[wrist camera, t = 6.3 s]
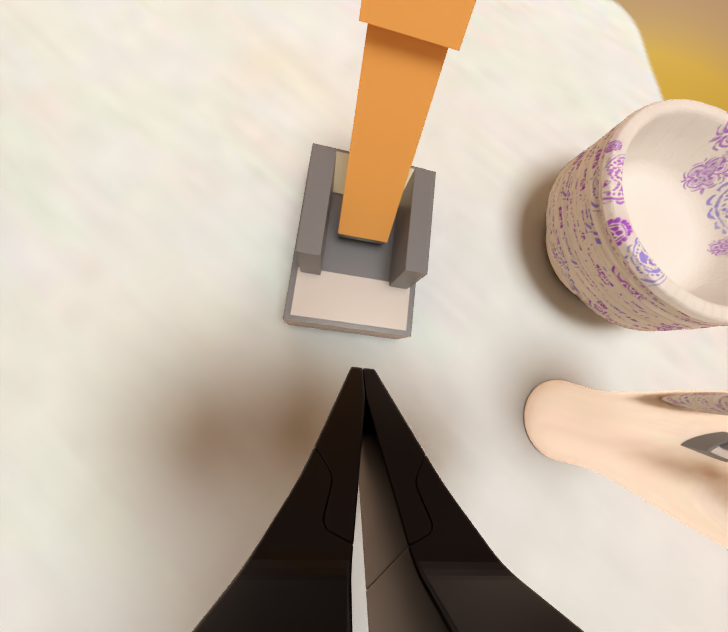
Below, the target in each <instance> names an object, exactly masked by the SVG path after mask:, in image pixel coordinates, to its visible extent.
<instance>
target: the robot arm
mask: <svg viewBox="0 0 728 632" xmlns="http://www.w3.org/2000/svg"><path fill="white" fill-rule="evenodd" d="M358 483H359V490H360V505H361V520H362V535H363V550H364V565H365V580H366V589H367V591H366V597H367V612H368V627H369V632H584V631H583V630H581V629H580V628H579V627H578V626H576V625H575V624H574V623H573V622H571V621H570V620H569V619H568V618H566V617H565V616H564V615H563V614H562V613H560V612H559V611H558V610H557V609H555V608H554V607H553V606H552V605H550V604H549V603H548V602H547V601H545V600H544V599H543V598H542V597H540V596H539V595H538V594H537V593H536V592H534V591H533V590H532V589H531V588H529V587H528V586H527V585H526V584H524V583H523V582H522V581H521V580H519V579H518V578H517V577H516V576H515V575H514V574H513V573H512V572H511V571H510V570H509V569H508V568H507V567H506V566H505V565H504V564H503V563H502V562H501V561H500V560H499V559H498V557H497V556H496V555H495V554H494V552H493V551H492V550H491V549H490V547H489V546H488V545H487V543H486V542H485V540H484V539H483V538H482V536H481V535H480V534H479V532H478V531H477V529H476V528H475V527H474V525H473V524H472V523H471V521H470V520H469V519H468V517H467V516H466V514H465V513H464V512H463V510H462V509H461V508H460V506H459V505H458V503H457V502H456V501H455V499H454V498H453V496H452V495H451V494H450V492H449V491H448V489H447V488H446V486H445V485H444V483H443V482H442V480H441V479H440V477H439V476H438V474H437V472H436V471H435V469H434V468H433V466H432V464H431V463H430V461H429V459H428V458H427V456H425V453H424V451H423V449H422V448H421V446H420V445H419V443H418V441H417V440H416V438H415V436H414V435H413V433H412V431H411V430H410V428H409V426H408V425H407V423H406V421H405V420H404V418H403V416H402V415H401V413H400V411H399V410H398V408H397V406H396V405H395V403H394V401H393V400H392V398H391V396H390V395H389V393H388V391H387V390H386V388H385V386H384V385H383V383H382V381H381V380H380V378H379V376H378V375H377V373H376V371H375V370H374V369H367V368H364V369H362V368H358V367H351V369H350V371H349V373H348V375H347V377H346V379H345V382H344V384H343V386H342V388H341V390H340V392H339V394H338V397H337V399H336V401H335V403H334V405H333V407H332V410H331V412H330V414H329V416H328V418H327V420H326V422H325V425H324V427H323V429H322V431H321V433H320V435H319V438H318V440H317V442H316V444H315V446H314V449H313V450H312V452H311V454H310V457H309V459H308V461H307V463H306V465H305V467H304V469H303V471H302V473H301V475H300V477H299V478H298V480H297V482H296V484H295V485H294V487H293V489H292V490H291V492H290V494H289V496H288V497H287V499H286V500H285V502H284V504H283V505H282V507H281V508H280V510H279V512H278V513H277V515H276V516H275V518H274V520H273V521H272V523H271V524H270V526H269V528H268V529H267V531H266V532H265V534H264V536H263V537H262V539H261V540H260V542H259V544H258V545H257V547H256V548H255V550H254V551H253V553H252V554H251V556H250V557H249V559H248V560H247V562H246V563H245V565H244V566H243V567H242V569H241V570H240V572H239V573H238V574H237V576H236V577H235V578H234V580H233V581H232V582H231V584H230V585H229V586H228V587H227V589H226V590H225V591H224V592H223V594H222V595H221V596H220V597H219V599H218V600H217V601H216V602H215V604H214V605H213V606H212V607H211V609H210V610H209V611H208V612H207V614H206V615H205V616H204V618H203V619H202V620H201V621H200V623H199V624H198V625H197V626H196V628H195V629H194V630H193V631H192V632H352V592H351V572H352V553H353V541H354V530H355V518H356V506H357V494H358Z"/></svg>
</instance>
